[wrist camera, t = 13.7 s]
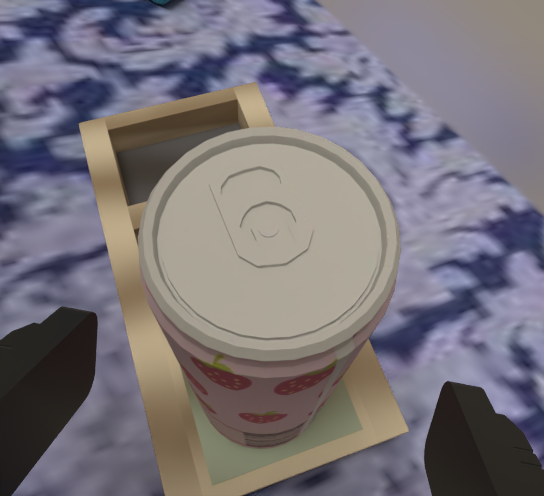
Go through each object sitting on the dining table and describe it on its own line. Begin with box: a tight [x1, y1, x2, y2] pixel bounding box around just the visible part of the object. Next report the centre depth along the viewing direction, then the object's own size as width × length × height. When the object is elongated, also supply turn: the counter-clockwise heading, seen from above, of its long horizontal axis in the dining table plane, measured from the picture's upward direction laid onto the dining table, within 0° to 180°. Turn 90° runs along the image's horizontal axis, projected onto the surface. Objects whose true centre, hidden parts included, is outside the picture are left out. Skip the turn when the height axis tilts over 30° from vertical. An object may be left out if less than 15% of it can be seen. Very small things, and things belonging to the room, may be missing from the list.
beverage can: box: [138, 127, 401, 449], centre depth 17 cm, size 6×6×15 cm
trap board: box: [79, 82, 409, 496], centre depth 28 cm, size 22×11×3 cm, turn 19°
